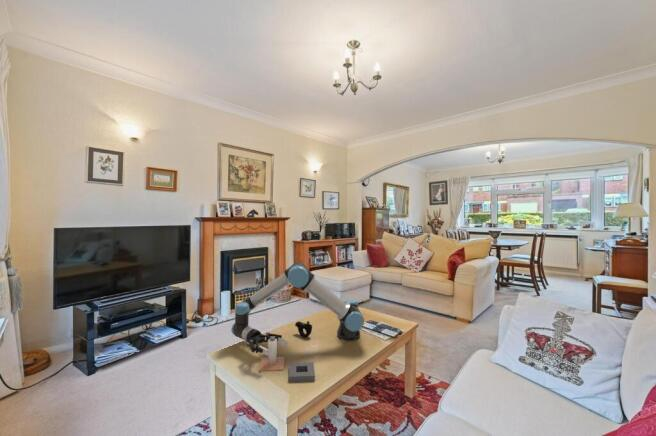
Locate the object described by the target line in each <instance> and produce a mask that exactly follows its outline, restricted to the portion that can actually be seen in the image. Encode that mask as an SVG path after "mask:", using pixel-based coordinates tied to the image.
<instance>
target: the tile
mask: <svg viewBox="0 0 656 436" xmlns="http://www.w3.org/2000/svg"><path fill="white" fill-rule="evenodd" d="M285 359H286V358H285V356H277V363H276V364H275V365H269V364H268V356H267V357H266V356H264V357H263V356H262V357H261V361H260V363H259V364H260V365H259V369H258V372H259V373H262V372H272V371H273V372H275V371H276V372H277V371H284V369H285Z"/></svg>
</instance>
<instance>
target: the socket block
mask: <svg viewBox="0 0 656 436" xmlns="http://www.w3.org/2000/svg"><path fill="white" fill-rule="evenodd" d="M314 364H315V363H314V361H307V362H306V361H304V362H303V361H302V362H301V361H300V362H289V370H288V371H289V374H288V377H289V378H288V383H298V382H299V383H300V382H303V383H304V382H315V381H316V375H315V365H314Z"/></svg>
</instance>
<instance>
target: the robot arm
mask: <svg viewBox="0 0 656 436" xmlns="http://www.w3.org/2000/svg"><path fill="white" fill-rule="evenodd" d="M289 285H291V286H292V287H294V288H298V289H299V290H300V291H301V292H307V293H308V294H309V295H311V296H312V297H313V298H314V299H315V300H317V301H318V302H320V303H321V304H322V305H323V306H325V307H326V308H327V309H329V310H330V311H331V312H333V313H334V314H335V315H336V319H337V320H338V321H339V326H338V328H337V331H336V337H337V338H338V339H340V340H343V341H347V342H348V341H352V342H353V341H357V340H359V339H361V331H360V330H361V329H362V328H363V326H364V324H365V318H364V315H363V313H362V312H361V311H360V309H359V301H358V300H356V299H341V298H339V297H338V296H337V295H336V294H334V293H333V292H332V291H331V290H330V289H329V288H327V287H326V286H324V285H323V284H322V283H321V282H319V281H318V280H317V279H316V276H315V274H313V273H312V272H311V271H310V270H309V268H308V267H307V265H306V264H305V263H303V262H294V263H293V264H291V265H290V266H289V267H287V269H285V270H283V273H282V274H281V275H279V276H278V277H276V278H275V279H273V280H272V281H270V282H269V283H267V284H266V285H264V286H263V287H262V288H260V289H259V290H258V291H256V292H255V293H253V294H252V295H250V296H249V297H247V298H244V299H243V300H242V301H241V302H238V303H236V305H235V309H234V315H235V316H234V317H235V318H234V323H233V324H232V327H231V329H230V330H231V333H232V335H234V336H235V337H237V338H239V339H241V340H243V341H245V342H246V345H247V346H248V347H249V349H250V351H251V353H256V354H260V353H261V354H263V355H265V357H266V356H267V357H268V348H266V347H263V346H262V345H259V344H262V343H268V340H269V339H270V337H271V336H275V338H276V339H277V344H279V345H282V346H284V347H288V340H287V339H284V338H282V337H283V336H282V334H277V333H270V332H268V331H267V332H266V333H265V334H263V333H261V331H260V330H258V329H256V328H254V327H251V326H250V325H249V322H250V321H249V319H250V318H249V315H250V313H251V311H253V310H254V309H255V308H257V307H258V306H260V305H262V303H264V302H265V301H267V300H268V299H270V298H271V297H273V296H274V295H275V294H278V293H279V292H280V291H281V290H283V289H284V288H286V287H288V286H289Z"/></svg>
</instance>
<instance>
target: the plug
mask: <svg viewBox="0 0 656 436" xmlns="http://www.w3.org/2000/svg"><path fill="white" fill-rule="evenodd" d="M267 347H268V348H267V349H268V356H267V357H268V364H269V365H275V364H276V363H277V357H278V353H277V351H278V342H277V339H276V338H275V336H271V337H270V339H269V340H268V341H267Z"/></svg>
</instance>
